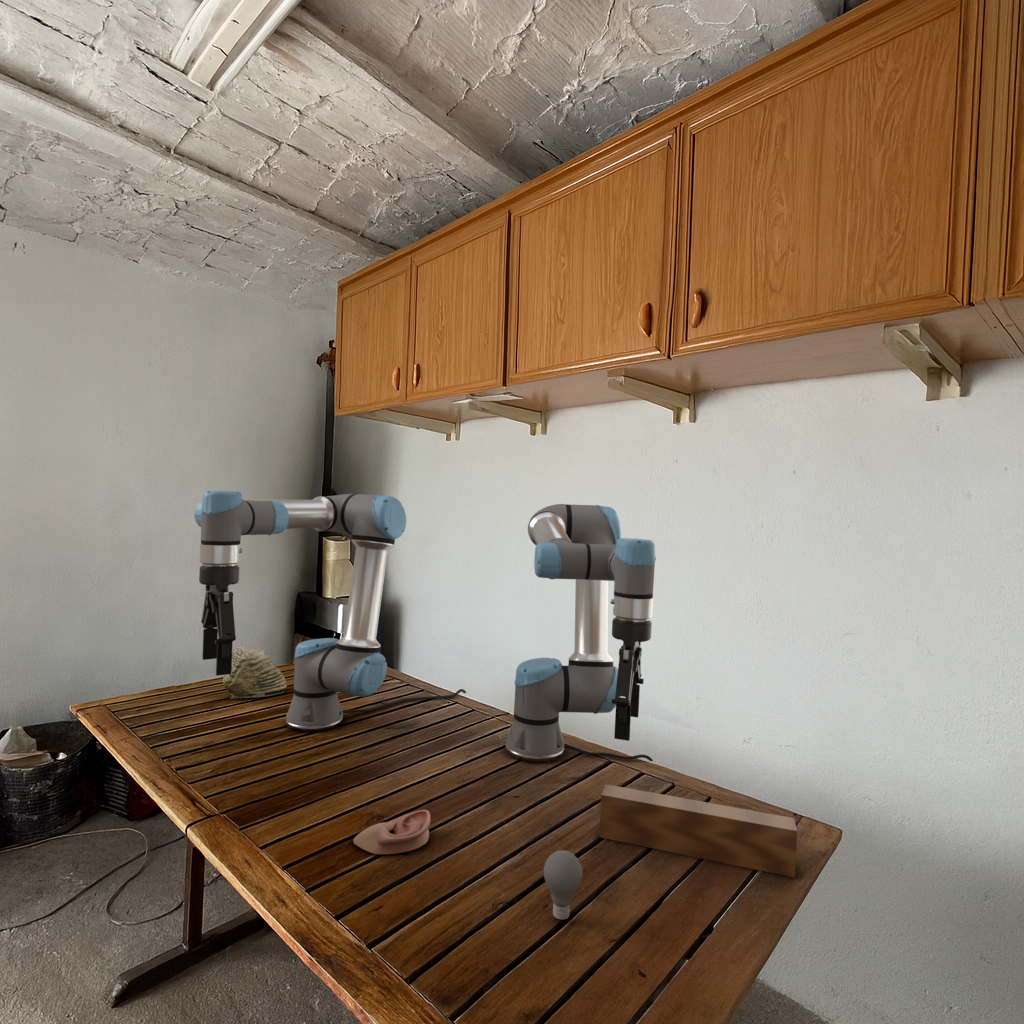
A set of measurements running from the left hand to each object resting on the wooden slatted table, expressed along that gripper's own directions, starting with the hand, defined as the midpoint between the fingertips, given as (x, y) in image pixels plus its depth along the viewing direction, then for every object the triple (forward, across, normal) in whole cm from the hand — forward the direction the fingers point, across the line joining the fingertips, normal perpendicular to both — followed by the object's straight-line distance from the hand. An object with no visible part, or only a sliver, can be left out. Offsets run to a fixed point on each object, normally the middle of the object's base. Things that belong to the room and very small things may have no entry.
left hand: (216, 666), depth 132 cm
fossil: (+27, +64, -25) cm, 73 cm away
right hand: (+6, -57, -63) cm, 85 cm away
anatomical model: (+27, -35, -24) cm, 51 cm away
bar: (+27, -68, -70) cm, 102 cm away
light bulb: (+27, -69, -36) cm, 83 cm away
